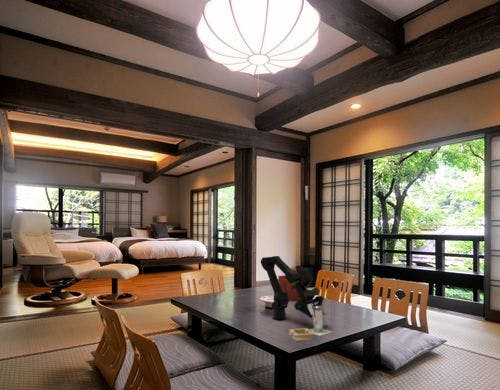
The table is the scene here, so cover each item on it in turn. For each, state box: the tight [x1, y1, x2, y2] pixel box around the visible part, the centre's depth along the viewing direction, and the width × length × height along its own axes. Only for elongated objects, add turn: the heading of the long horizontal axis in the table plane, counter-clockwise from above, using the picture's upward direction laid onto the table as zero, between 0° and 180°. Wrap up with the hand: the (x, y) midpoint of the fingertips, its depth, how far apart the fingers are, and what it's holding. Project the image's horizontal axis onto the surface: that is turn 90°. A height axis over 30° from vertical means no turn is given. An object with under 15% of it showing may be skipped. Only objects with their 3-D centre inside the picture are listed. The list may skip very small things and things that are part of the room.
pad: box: [308, 328, 332, 337], centre depth 173 cm, size 10×10×1 cm
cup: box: [307, 295, 318, 316], centre depth 208 cm, size 10×10×11 cm
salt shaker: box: [312, 304, 324, 333], centre depth 173 cm, size 6×6×13 cm
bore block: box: [288, 327, 316, 342], centre depth 164 cm, size 10×10×3 cm
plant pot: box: [277, 275, 309, 302], centre depth 250 cm, size 19×19×17 cm
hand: (317, 316), depth 174 cm, fingers open, 9 cm apart
